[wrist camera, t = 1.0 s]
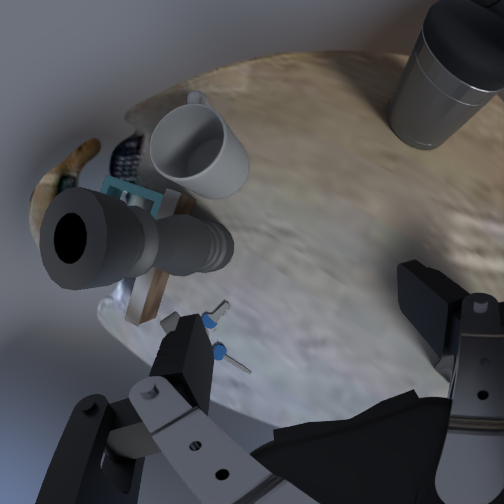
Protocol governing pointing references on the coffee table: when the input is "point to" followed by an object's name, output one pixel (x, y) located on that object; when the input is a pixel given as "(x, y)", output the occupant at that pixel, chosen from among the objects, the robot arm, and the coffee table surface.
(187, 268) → the candle holder
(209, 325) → the key chain
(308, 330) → the coffee table surface
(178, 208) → the door edge rail
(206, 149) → the mug
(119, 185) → the frame
